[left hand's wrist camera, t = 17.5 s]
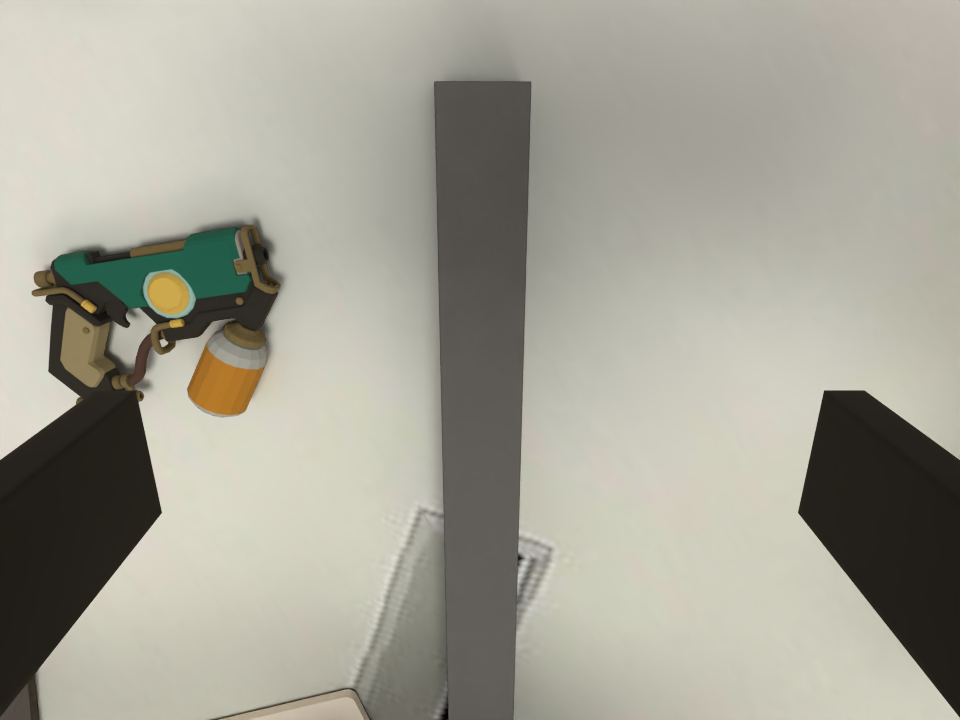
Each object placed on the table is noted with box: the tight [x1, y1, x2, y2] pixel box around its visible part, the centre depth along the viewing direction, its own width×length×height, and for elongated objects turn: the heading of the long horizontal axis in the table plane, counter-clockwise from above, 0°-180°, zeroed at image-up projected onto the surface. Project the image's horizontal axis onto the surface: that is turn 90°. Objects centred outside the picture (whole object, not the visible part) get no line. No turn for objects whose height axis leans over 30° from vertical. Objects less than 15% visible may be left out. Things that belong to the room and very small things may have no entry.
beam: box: [434, 81, 531, 720], centre depth 47 cm, size 55×5×8 cm, turn 0°
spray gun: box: [32, 225, 280, 417], centre depth 44 cm, size 4×17×15 cm
